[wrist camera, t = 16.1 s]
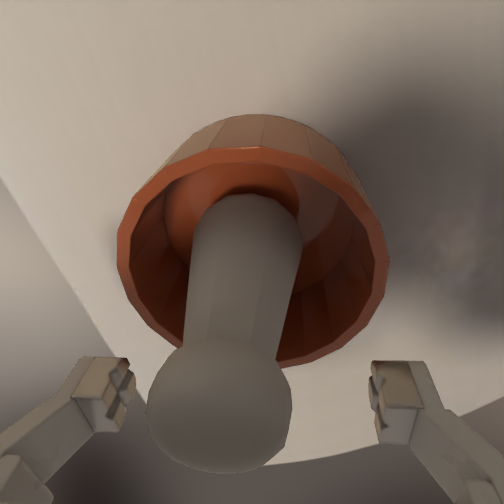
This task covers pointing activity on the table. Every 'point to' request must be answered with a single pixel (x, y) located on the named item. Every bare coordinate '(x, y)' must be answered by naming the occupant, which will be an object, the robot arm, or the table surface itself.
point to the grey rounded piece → (230, 341)
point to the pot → (291, 198)
